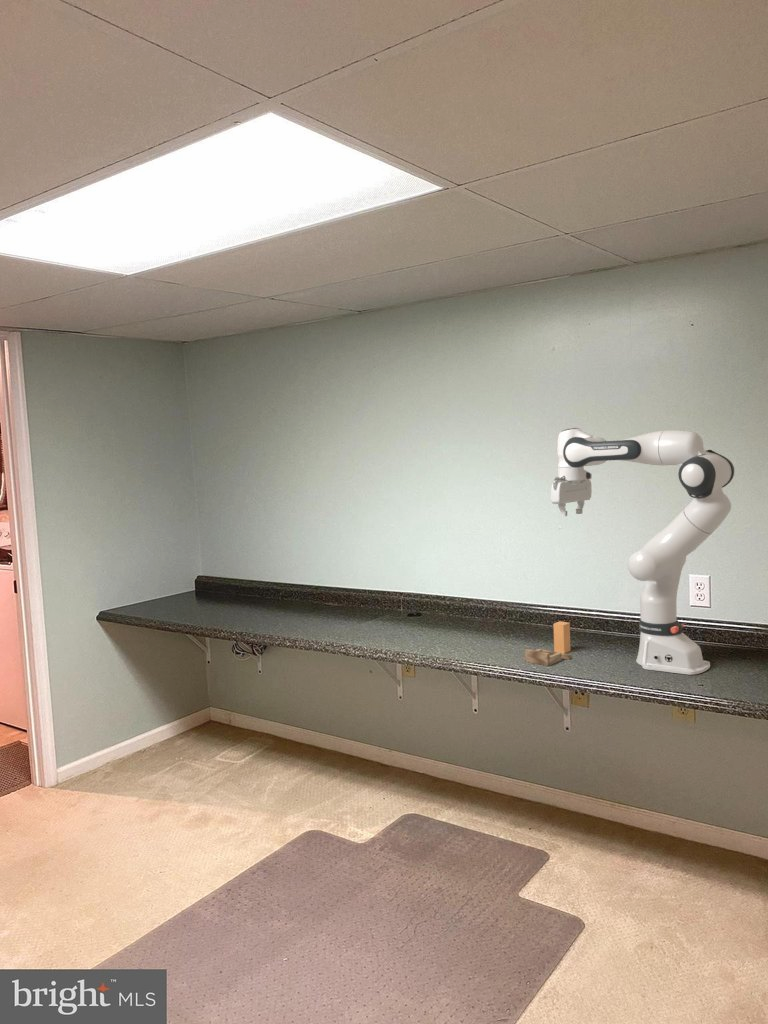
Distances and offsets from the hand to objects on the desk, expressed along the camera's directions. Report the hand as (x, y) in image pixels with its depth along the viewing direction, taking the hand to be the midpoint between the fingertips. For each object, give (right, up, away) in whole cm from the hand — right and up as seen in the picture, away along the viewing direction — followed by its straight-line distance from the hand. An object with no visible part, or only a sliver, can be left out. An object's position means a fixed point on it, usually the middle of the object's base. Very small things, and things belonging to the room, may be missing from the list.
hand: (571, 515), depth 270 cm
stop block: (-3, -48, +1) cm, 48 cm away
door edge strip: (-7, -48, -5) cm, 49 cm away
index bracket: (-12, -49, -9) cm, 51 cm away
